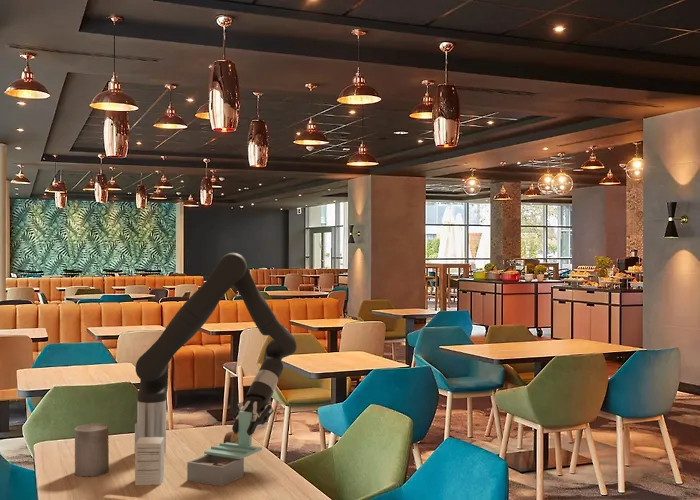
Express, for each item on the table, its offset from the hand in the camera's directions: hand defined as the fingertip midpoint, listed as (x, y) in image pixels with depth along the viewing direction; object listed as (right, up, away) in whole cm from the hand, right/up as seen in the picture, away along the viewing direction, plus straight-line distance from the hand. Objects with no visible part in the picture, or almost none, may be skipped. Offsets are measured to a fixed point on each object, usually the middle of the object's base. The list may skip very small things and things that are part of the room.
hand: (241, 432), depth 235 cm
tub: (-6, -11, -12) cm, 17 cm away
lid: (-2, -5, -4) cm, 6 cm away
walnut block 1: (-9, -10, -13) cm, 19 cm away
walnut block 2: (-3, -10, -11) cm, 16 cm away
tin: (-5, -11, +16) cm, 20 cm away
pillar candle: (-44, -11, -5) cm, 46 cm away
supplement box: (-24, -11, -16) cm, 31 cm away
